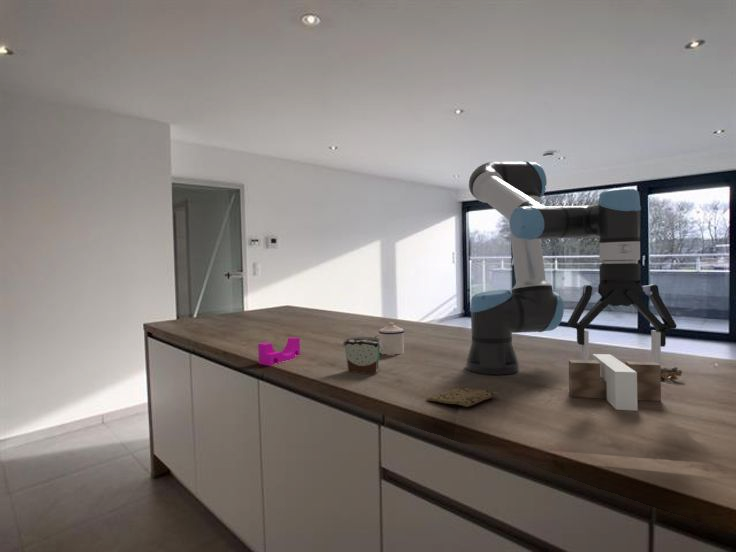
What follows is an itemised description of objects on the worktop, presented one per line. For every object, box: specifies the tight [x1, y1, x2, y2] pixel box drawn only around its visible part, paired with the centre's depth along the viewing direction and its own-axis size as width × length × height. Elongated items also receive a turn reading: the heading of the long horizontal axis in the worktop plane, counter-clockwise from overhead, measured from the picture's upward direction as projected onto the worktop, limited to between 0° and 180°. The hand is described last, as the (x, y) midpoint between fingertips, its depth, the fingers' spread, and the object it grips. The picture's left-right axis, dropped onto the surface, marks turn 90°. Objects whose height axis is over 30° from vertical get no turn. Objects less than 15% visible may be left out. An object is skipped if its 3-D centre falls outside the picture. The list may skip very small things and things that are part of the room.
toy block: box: [257, 336, 301, 367], centre depth 141 cm, size 15×6×8 cm, turn 142°
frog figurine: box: [660, 366, 683, 385], centre depth 110 cm, size 12×12×4 cm
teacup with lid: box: [373, 321, 405, 356], centre depth 149 cm, size 12×9×12 cm
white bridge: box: [592, 353, 638, 412], centre depth 95 cm, size 18×4×8 cm, turn 165°
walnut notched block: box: [568, 359, 662, 402], centre depth 95 cm, size 18×3×8 cm, turn 75°
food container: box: [342, 336, 382, 375], centre depth 126 cm, size 12×6×10 cm, turn 65°
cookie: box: [425, 387, 498, 408], centre depth 97 cm, size 12×12×2 cm
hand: (619, 360), depth 90 cm, fingers open, 13 cm apart
